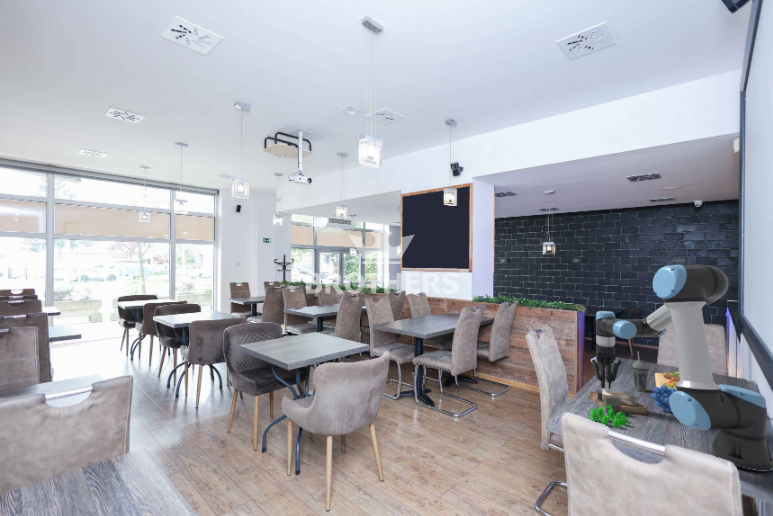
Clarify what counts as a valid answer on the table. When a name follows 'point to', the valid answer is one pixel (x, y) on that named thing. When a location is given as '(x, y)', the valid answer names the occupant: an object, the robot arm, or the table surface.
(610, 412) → the green knobby part
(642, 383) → the beverage cup
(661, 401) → the grapes
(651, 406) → the table surface
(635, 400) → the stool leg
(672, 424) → the table surface
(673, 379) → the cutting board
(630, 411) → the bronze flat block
